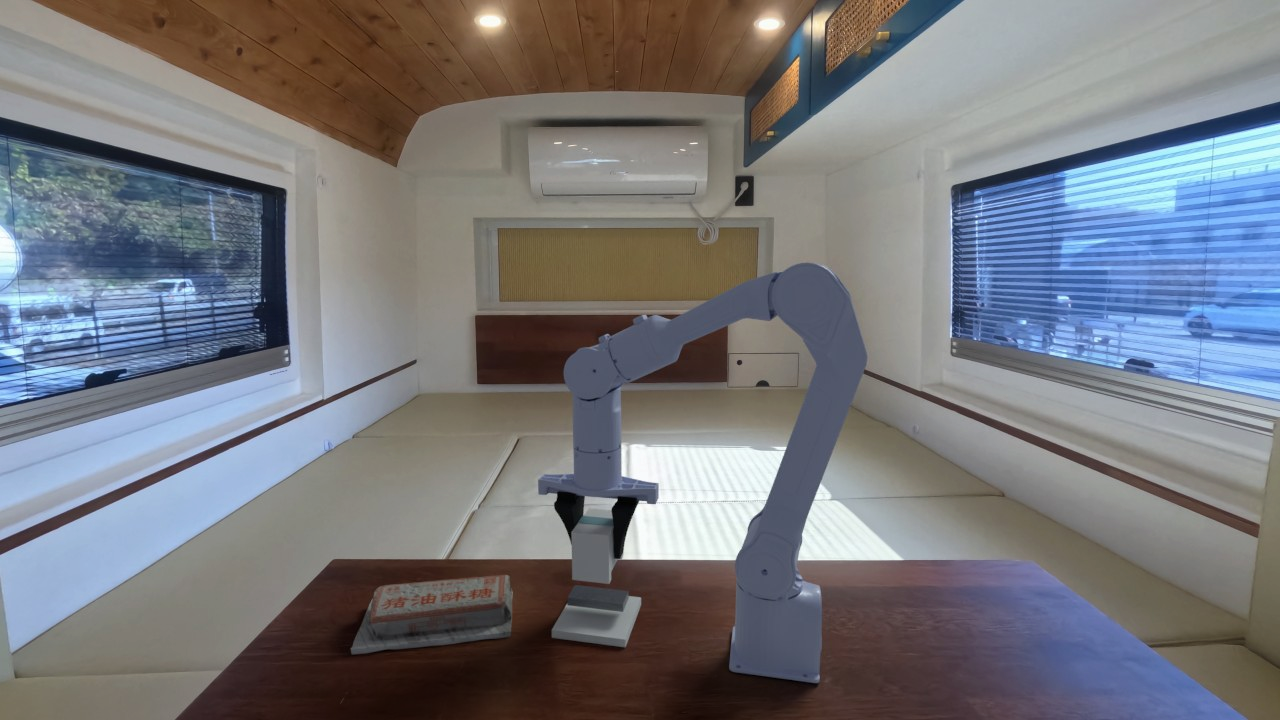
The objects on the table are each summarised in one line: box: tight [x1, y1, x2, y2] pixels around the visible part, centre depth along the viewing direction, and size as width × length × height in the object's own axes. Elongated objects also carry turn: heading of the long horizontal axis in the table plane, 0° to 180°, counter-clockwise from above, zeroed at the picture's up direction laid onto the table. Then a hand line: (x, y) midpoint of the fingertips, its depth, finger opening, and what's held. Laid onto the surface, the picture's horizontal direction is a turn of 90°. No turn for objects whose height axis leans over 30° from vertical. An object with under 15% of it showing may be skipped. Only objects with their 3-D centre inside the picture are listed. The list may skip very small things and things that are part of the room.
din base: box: [551, 595, 642, 648], centre depth 74 cm, size 9×9×1 cm
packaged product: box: [350, 574, 514, 655], centre depth 74 cm, size 18×5×10 cm
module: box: [571, 507, 624, 585], centre depth 73 cm, size 5×7×6 cm, turn 168°
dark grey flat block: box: [566, 584, 630, 612], centre depth 74 cm, size 7×3×1 cm, turn 78°
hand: (598, 552), depth 73 cm, fingers closed on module, 4 cm apart
